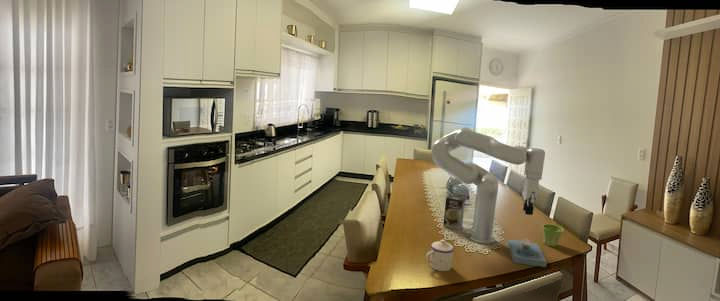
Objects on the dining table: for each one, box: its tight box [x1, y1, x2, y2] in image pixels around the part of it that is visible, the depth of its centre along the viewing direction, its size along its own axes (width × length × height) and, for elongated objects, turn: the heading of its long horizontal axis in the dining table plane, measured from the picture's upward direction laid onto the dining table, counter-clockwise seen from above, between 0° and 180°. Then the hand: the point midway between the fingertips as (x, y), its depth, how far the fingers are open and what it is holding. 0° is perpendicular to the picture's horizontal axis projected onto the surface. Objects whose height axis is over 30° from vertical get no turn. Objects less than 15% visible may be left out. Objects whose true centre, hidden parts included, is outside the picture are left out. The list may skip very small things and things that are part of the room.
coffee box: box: [442, 194, 466, 231], centre depth 202 cm, size 9×6×16 cm
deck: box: [507, 238, 548, 268], centre depth 173 cm, size 20×13×2 cm, turn 167°
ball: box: [520, 238, 532, 248], centre depth 174 cm, size 4×4×4 cm
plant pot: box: [541, 223, 565, 247], centre depth 186 cm, size 9×9×9 cm
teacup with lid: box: [425, 239, 454, 272], centre depth 156 cm, size 12×9×12 cm
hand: (527, 212), depth 179 cm, fingers open, 4 cm apart
